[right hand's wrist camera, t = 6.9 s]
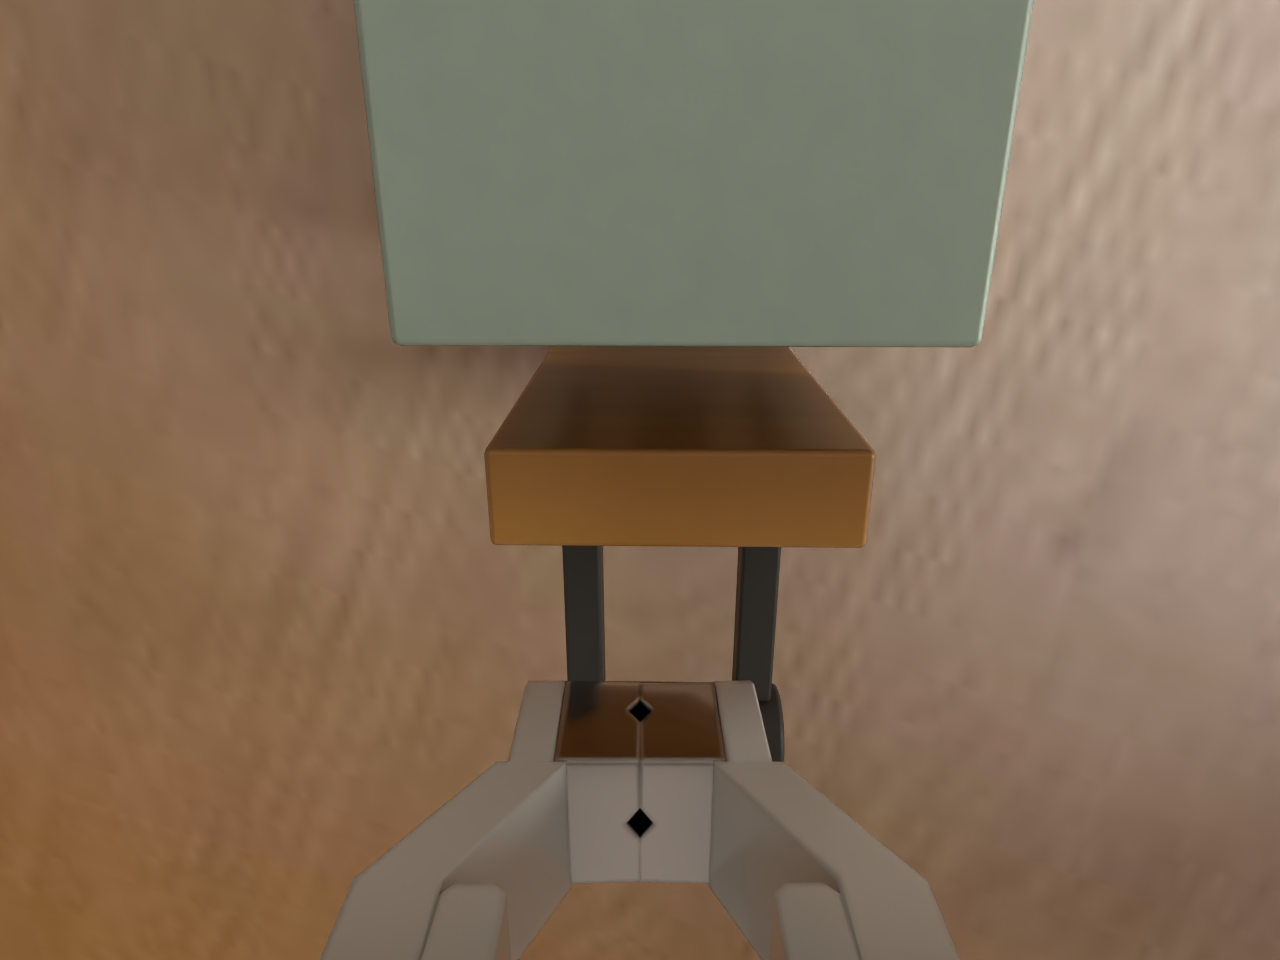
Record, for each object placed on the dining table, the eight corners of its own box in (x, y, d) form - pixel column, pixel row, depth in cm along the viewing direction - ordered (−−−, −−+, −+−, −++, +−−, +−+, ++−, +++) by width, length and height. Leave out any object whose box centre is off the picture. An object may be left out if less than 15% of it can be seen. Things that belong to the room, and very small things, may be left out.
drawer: (756, 628, 18) (825, 924, 11) (572, 626, 19) (517, 920, 11) (837, -707, 11) (1218, -2586, 4) (525, -702, 11) (259, -2533, 4)
